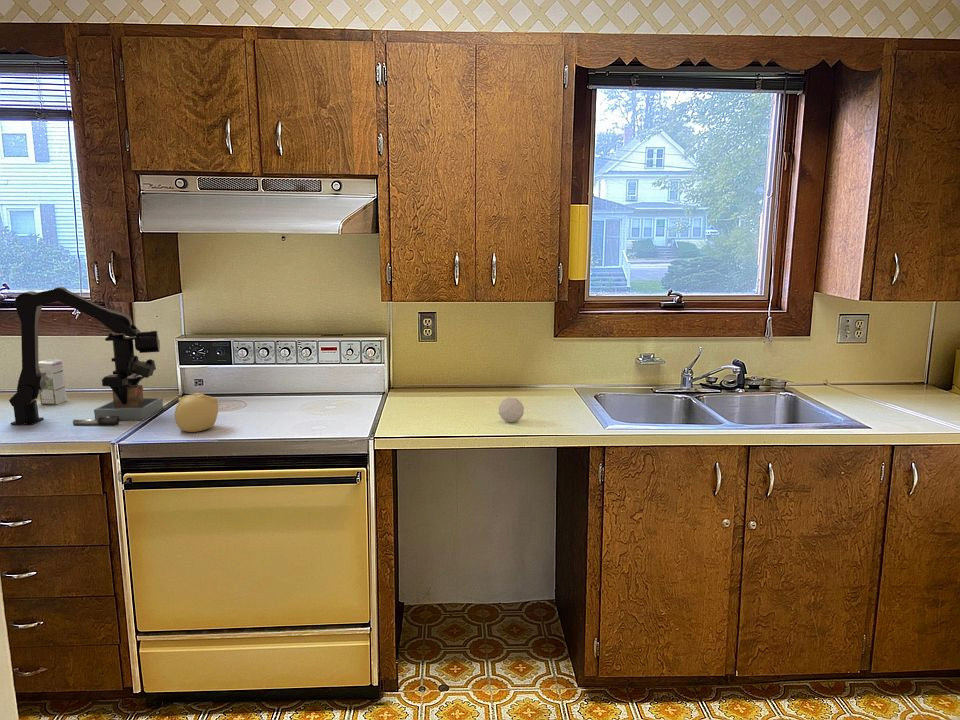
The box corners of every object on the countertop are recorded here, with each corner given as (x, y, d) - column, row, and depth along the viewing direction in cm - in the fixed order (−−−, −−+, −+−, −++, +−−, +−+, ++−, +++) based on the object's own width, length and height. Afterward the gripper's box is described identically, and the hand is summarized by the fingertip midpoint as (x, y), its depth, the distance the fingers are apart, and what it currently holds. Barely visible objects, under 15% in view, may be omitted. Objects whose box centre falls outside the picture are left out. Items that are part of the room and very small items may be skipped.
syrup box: (67, 400, 241) (62, 359, 238) (55, 405, 235) (50, 362, 232) (52, 400, 241) (47, 359, 239) (39, 404, 236) (34, 362, 233)
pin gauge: (119, 423, 213) (118, 415, 213) (115, 425, 211) (114, 417, 210) (76, 423, 213) (75, 415, 213) (72, 426, 210) (71, 417, 210)
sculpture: (224, 423, 213) (221, 389, 211) (209, 435, 201) (206, 398, 199) (186, 423, 213) (183, 389, 211) (169, 435, 201) (166, 398, 199)
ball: (517, 431, 214) (527, 414, 209) (493, 423, 213) (503, 406, 208) (519, 413, 220) (529, 397, 215) (495, 405, 219) (505, 388, 214)
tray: (142, 420, 216) (141, 409, 216) (95, 420, 216) (93, 409, 216) (163, 408, 231) (162, 397, 230) (118, 408, 231) (117, 398, 230)
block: (136, 407, 221) (134, 388, 219) (113, 407, 220) (112, 388, 219) (144, 403, 226) (142, 384, 224) (122, 403, 226) (120, 384, 224)
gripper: (135, 359, 211) (140, 409, 214) (162, 348, 229) (166, 395, 232) (98, 359, 211) (103, 409, 214) (128, 348, 229) (133, 395, 232)
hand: (128, 402), depth 223 cm, fingers closed on block, 5 cm apart
